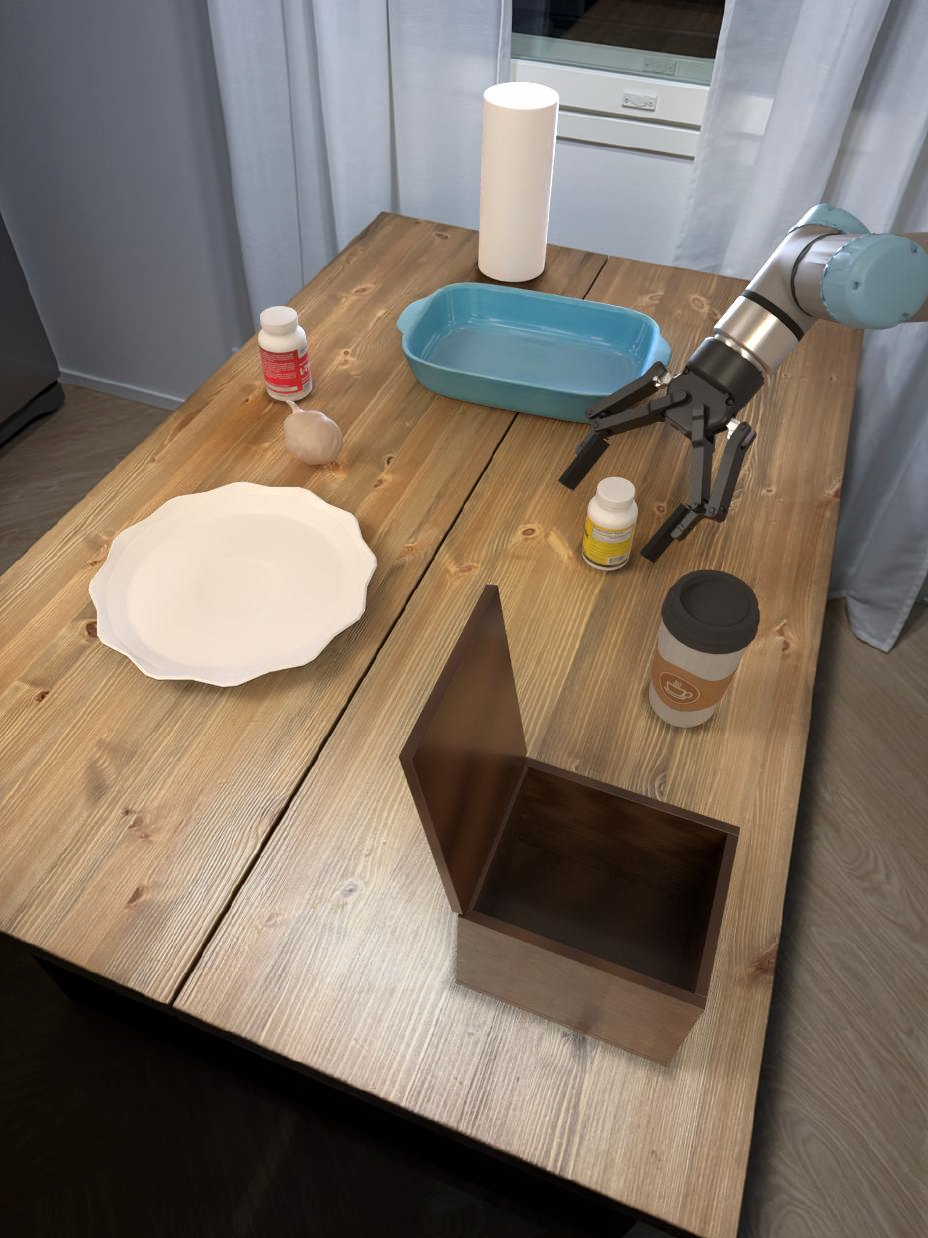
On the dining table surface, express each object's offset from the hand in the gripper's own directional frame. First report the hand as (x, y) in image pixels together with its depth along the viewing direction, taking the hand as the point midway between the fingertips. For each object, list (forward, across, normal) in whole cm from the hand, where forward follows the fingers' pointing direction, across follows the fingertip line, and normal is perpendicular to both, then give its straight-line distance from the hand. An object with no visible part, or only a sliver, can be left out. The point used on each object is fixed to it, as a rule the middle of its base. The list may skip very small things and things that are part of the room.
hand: (604, 521), depth 96 cm
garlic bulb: (+17, +33, +9) cm, 38 cm away
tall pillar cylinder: (-18, +60, -26) cm, 67 cm away
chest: (+24, -33, +16) cm, 44 cm away
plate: (+29, +18, +21) cm, 40 cm away
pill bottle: (+14, +48, +6) cm, 50 cm away
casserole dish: (-6, +32, -14) cm, 36 cm away
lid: (+13, -25, +36) cm, 46 cm away
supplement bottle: (+3, 0, -5) cm, 6 cm away
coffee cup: (+8, -20, 0) cm, 22 cm away
